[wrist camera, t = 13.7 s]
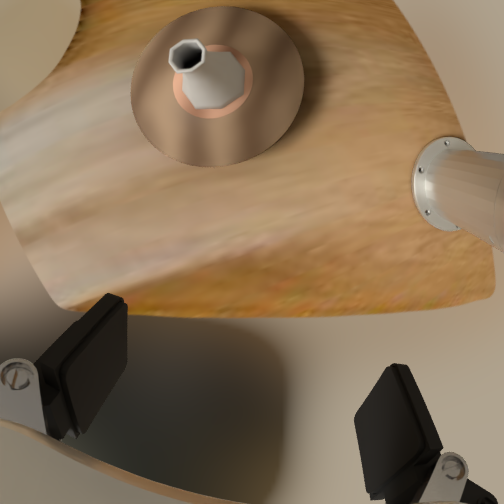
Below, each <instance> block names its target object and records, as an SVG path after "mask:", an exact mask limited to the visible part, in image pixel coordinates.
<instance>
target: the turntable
mask: <svg viewBox="0 0 504 504" xmlns="http://www.w3.org/2000/svg"><path fill="white" fill-rule="evenodd" d="M195 38H198V39H199V40H200V41H201V43H202V44H203V45H204V46H205V48H206V49H207V51H212V52H231V53H232V54H233V55H234V57H235V58H236V59H237V60H238V62H239V63H240V64H241V65H242V67H243V68H244V69H245V81H244V95H242V96H240V97H239V98H237V99H236V100H234V101H233V102H231V103H230V104H228V105H227V106H225V107H224V108H222V109H195V107H194V106H193V105H192V103H191V102H190V100H189V99H188V98H187V96H186V95H185V94H184V92H183V91H182V84H183V73H179V74H177V73H176V72H175V70H174V69H173V68H172V66H171V65H170V64H169V52H170V48H172V47H173V46H174V45H176V44H177V43H179V42H180V41H181V40H184V39H195ZM303 91H304V71H303V65H302V61H301V58H300V55H299V53H298V50H297V48H296V46H295V45H294V43H293V42H292V40H291V38H290V37H289V36H288V35H287V34H286V33H285V31H284V30H283V29H282V28H280V27H279V26H278V25H277V24H276V23H275V22H273V21H271V20H270V19H268V18H267V17H265V16H263V15H261V14H258V13H256V12H253V11H250V10H247V9H243V8H237V7H225V6H222V7H210V8H205V9H200V10H197V11H193V12H190V13H188V14H186V15H183V16H181V17H179V18H177V19H176V20H174V21H172V22H171V23H169V24H168V25H167V26H165V27H164V28H163V29H161V30H160V31H159V32H158V33H157V34H156V35H155V36H154V37H153V38H152V39H151V41H150V42H149V43H148V44H147V46H146V47H145V49H144V50H143V52H142V53H141V55H140V57H139V59H138V61H137V64H136V67H135V70H134V73H133V77H132V82H131V104H132V109H133V113H134V116H135V119H136V122H137V124H138V126H139V128H140V130H141V131H142V133H143V134H144V136H145V137H146V138H147V140H148V141H149V142H150V143H151V144H152V145H153V146H154V147H155V148H157V149H158V150H159V151H160V152H162V153H163V154H165V155H166V156H168V157H170V158H172V159H174V160H176V161H179V162H181V163H185V164H188V165H192V166H199V167H221V166H228V165H232V164H236V163H240V162H243V161H245V160H248V159H251V158H253V157H255V156H257V155H259V154H261V153H262V152H264V151H265V150H267V149H268V148H269V147H271V146H272V145H273V144H274V143H275V142H277V141H278V140H279V139H280V138H281V136H282V135H283V134H284V133H285V132H286V131H287V129H288V128H289V126H290V125H291V123H292V122H293V120H294V118H295V116H296V114H297V112H298V110H299V107H300V104H301V101H302V96H303Z"/></svg>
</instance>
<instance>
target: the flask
mask: <svg viewBox="0 0 504 504" xmlns="http://www.w3.org/2000/svg"><path fill="white" fill-rule="evenodd" d="M169 64H170V65H171V66H172V68H173V69H174V70H175V72H176V73H177V74H179V73H183V84H182V91H183V92H184V94H185V95H186V96H187V98H188V99H189V100H190V102H191V103H192V105H193V106H194V107H195V109H222V108H224V107H225V106H227V105H228V104H230V103H231V102H233V101H234V100H236V99H237V98H239V97H240V96H242V95H244V81H245V69H244V68H243V67H242V65H241V64H240V63H239V62H238V60H237V59H236V58H235V57H234V55H233V54H232V53H231V52H212V51H207V49H206V48H205V46H204V45H203V44H202V43H201V41H200V40H199V39H198V38H195V39H184V40H181V41H180V42H179V43H177V44H176V45H174V46H173V47H172V48H170V52H169Z"/></svg>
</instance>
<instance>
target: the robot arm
mask: <svg viewBox="0 0 504 504" xmlns="http://www.w3.org/2000/svg"><path fill="white" fill-rule="evenodd" d="M444 142H445V144H444ZM419 168H420V171H419ZM412 194H413V199H414V202H415V205H416V207H417V209H418V211H419V213H420V214H421V215H422V217H423V218H424V219H425V220H426V221H427V222H428V223H429V224H431V225H432V226H434V227H436V228H438V229H440V230H443V231H457V230H460V229H464V230H465V231H467V232H469V233H471V234H473V235H474V236H476V237H478V238H480V239H481V240H483V241H485V242H486V243H488V244H490V245H491V246H493V247H495V248H496V249H498V250H500V251H501V252H503V253H504V154H498V153H490V152H480V151H476V150H474V148H473V147H472V146H471V145H470V144H468V143H467V142H465V141H464V140H461V139H459V138H455V137H442V138H437V139H435V140H433V141H431V142H430V143H429V144H427V145H426V146H425V147H424V148H423V150H422V151H421V152H420V153H419V155H418V157H417V159H416V161H415V164H414V168H413V172H412ZM425 211H426V212H425ZM127 312H128V306H127V304H126V303H124V300H123V298H122V297H119V296H116V295H113V294H110V293H107V294H105V295H104V296H103V297H102V298H101V299H100V300H99V301H98V302H97V303H96V304H95V305H94V306H93V307H92V308H91V309H90V310H89V311H88V312H87V313H86V314H85V315H84V316H83V317H81V319H79V320H78V321H76V322H74V323H73V324H72V325H71V326H70V327H69V328H68V329H67V330H66V331H65V332H64V333H63V334H62V335H61V336H60V337H59V338H58V339H57V340H56V341H55V342H54V343H53V344H52V345H51V346H50V347H49V348H48V349H47V350H46V351H45V352H44V354H43V355H42V356H41V357H40V358H39V359H38V360H37V361H36V362H35V363H34V364H32V363H31V362H29V361H27V360H24V359H18V358H16V359H10V360H8V361H6V362H4V363H3V364H2V365H1V366H0V504H246V503H239V502H234V501H228V500H223V499H218V498H214V497H209V496H204V495H200V494H196V493H192V492H188V491H185V490H181V489H177V488H173V487H170V486H167V485H164V484H161V483H157V482H154V481H151V480H148V479H146V478H143V477H140V476H137V475H135V474H132V473H129V472H127V471H124V470H122V469H119V468H116V467H114V466H112V465H109V464H107V463H105V462H102V461H100V460H97V459H95V458H93V457H91V456H89V455H87V454H84V453H82V452H80V451H78V450H76V449H74V448H72V447H70V446H68V445H66V444H64V443H62V440H61V439H63V438H64V436H65V435H66V434H68V435H70V436H72V437H73V438H75V439H77V437H78V436H79V434H80V433H82V434H84V433H85V432H86V431H87V429H88V428H89V426H90V424H91V423H92V421H93V419H94V418H95V416H96V415H97V413H98V411H99V410H100V408H101V406H102V405H103V403H104V401H105V400H106V398H107V397H108V395H109V393H110V392H111V390H112V389H113V387H114V385H115V384H116V382H117V381H118V379H119V377H120V376H121V374H122V373H123V371H124V370H125V368H126V365H127ZM354 423H355V429H356V434H357V439H358V445H359V450H360V456H361V462H362V468H363V474H364V481H365V487H366V491H367V493H370V500H382V499H384V498H385V501H386V503H385V504H498V502H497V499H496V498H495V497H494V495H492V494H491V493H490V492H488V491H486V490H485V489H483V488H481V487H480V486H478V485H477V484H475V483H474V482H472V481H470V480H469V479H467V477H468V466H467V464H466V461H465V460H464V459H463V458H462V457H461V456H460V455H458V454H456V453H454V452H447V453H444V454H442V455H441V454H440V451H441V450H442V449H443V446H442V443H441V440H440V438H439V435H438V433H437V430H436V428H435V425H434V423H433V420H432V418H431V416H430V413H429V411H428V409H427V406H426V404H425V402H424V400H423V397H422V395H421V393H420V390H419V388H418V386H417V384H416V382H415V379H414V377H413V375H412V373H411V371H410V369H409V367H408V366H407V365H404V364H396V363H394V364H392V365H390V366H389V367H386V369H385V370H384V372H383V373H382V375H381V377H380V378H379V380H378V381H377V383H376V384H375V386H374V387H373V389H372V391H371V392H370V394H369V395H368V397H367V398H366V399H365V401H364V402H363V404H362V405H361V407H360V408H359V410H358V411H357V412H356V414H355V417H354Z"/></svg>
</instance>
